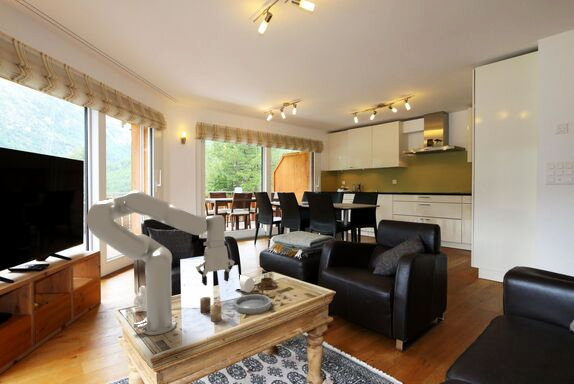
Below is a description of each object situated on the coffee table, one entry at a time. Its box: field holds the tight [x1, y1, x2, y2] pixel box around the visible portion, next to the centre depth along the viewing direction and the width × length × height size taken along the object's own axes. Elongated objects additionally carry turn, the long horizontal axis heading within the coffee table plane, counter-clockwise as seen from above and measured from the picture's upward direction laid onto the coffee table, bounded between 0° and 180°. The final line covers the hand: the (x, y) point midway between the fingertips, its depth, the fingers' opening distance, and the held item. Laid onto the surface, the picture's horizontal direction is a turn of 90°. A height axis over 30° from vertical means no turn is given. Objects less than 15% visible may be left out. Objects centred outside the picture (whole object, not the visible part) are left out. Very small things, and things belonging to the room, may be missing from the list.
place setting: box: [254, 277, 278, 295], centre depth 167 cm, size 18×20×6 cm
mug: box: [239, 274, 257, 293], centre depth 166 cm, size 12×10×8 cm
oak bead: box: [210, 303, 222, 323], centre depth 127 cm, size 5×5×6 cm
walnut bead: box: [199, 296, 212, 314], centre depth 135 cm, size 5×5×6 cm
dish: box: [232, 293, 272, 315], centre depth 142 cm, size 18×18×2 cm
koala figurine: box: [133, 285, 147, 313], centre depth 137 cm, size 8×7×12 cm
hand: (215, 282), depth 127 cm, fingers open, 9 cm apart
